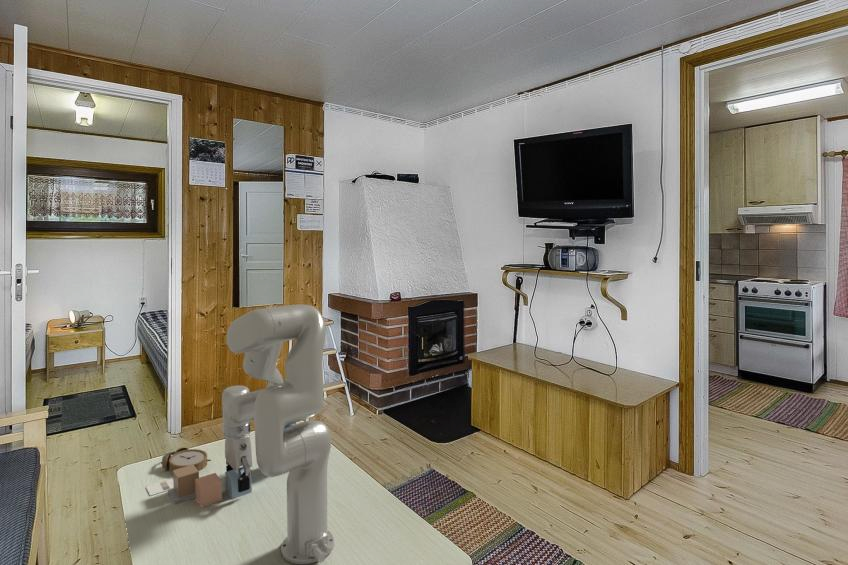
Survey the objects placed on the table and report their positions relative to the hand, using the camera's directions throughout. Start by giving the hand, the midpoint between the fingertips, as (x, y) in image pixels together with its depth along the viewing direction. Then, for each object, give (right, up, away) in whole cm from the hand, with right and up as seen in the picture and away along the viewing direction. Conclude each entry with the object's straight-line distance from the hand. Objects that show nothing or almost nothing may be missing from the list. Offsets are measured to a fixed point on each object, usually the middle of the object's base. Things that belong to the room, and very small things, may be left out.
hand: (237, 483), depth 138 cm
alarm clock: (-24, -1, +15) cm, 28 cm away
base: (-15, -2, -1) cm, 15 cm away
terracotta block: (-7, -3, -4) cm, 8 cm away
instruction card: (-23, -2, +2) cm, 23 cm away
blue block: (0, -3, 0) cm, 3 cm away
